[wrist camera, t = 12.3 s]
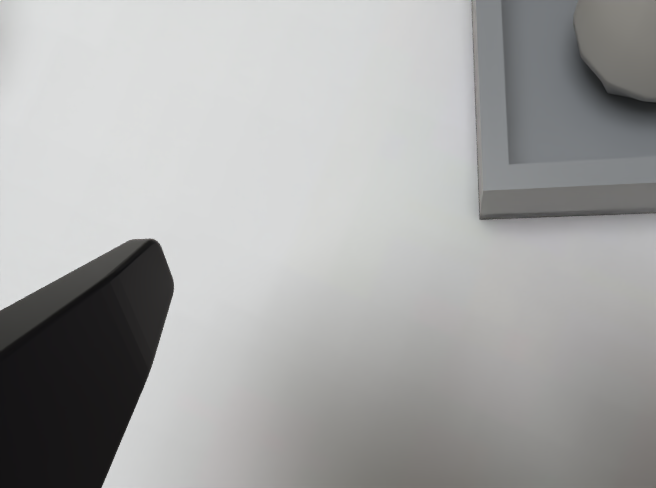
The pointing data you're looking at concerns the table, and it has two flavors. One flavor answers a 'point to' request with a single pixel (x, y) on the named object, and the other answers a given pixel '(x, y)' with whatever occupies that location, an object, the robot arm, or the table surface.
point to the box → (553, 120)
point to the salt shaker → (619, 44)
